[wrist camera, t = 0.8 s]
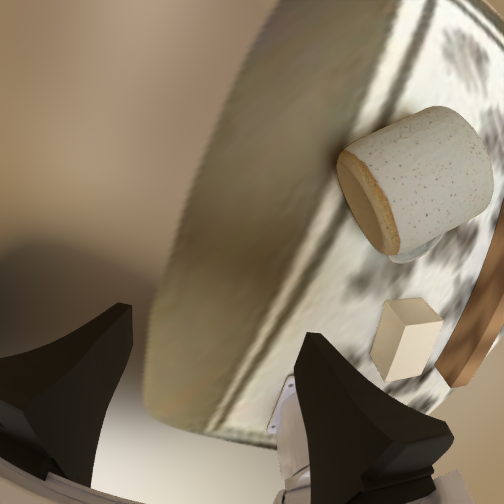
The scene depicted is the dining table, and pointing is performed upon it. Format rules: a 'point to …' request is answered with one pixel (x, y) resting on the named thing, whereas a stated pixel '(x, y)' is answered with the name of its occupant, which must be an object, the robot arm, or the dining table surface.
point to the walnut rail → (477, 318)
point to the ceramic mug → (416, 181)
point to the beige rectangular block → (405, 338)
